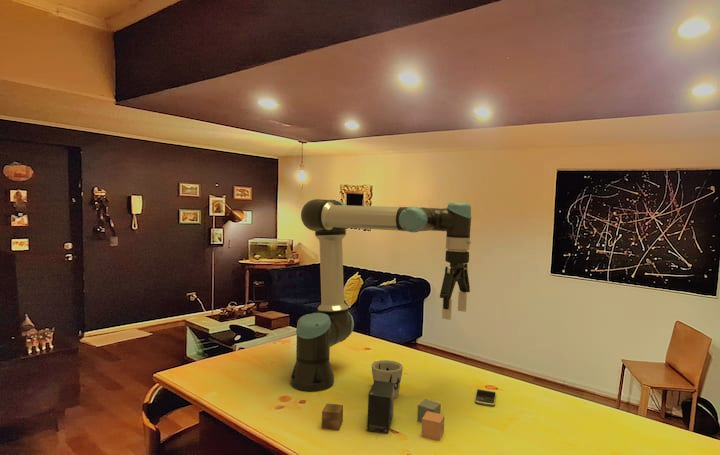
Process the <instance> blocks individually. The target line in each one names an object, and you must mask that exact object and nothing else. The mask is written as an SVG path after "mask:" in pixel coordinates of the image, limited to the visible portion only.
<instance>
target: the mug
mask: <svg viewBox="0 0 720 455" xmlns="http://www.w3.org/2000/svg"><path fill="white" fill-rule="evenodd" d="M403 366H404V365H403V364H402V363H400V362H398V361H395V360H389V359H387V360H386V359H382V360H377V361H374V362H372V364H371V374H372V381H373V383H374V381H375V380H376V381H383V382H391V383H394V399H396V398H397V397H398V396H399V392H400V387H401V386H400V385H401V380H402V374H403V369H404V367H403Z"/></svg>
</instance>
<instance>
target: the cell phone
mask: <svg viewBox="0 0 720 455" xmlns="http://www.w3.org/2000/svg"><path fill="white" fill-rule="evenodd" d="M475 393H476V394H475V397H474V404H476V405H481V406H485V407H490V408H491V407H493V408H494V406H496V405H495V404H496V396H497V392H496V391H491V390H485V389H479V388H477V390H476V392H475Z"/></svg>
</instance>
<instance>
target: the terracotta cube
mask: <svg viewBox="0 0 720 455" xmlns="http://www.w3.org/2000/svg"><path fill="white" fill-rule="evenodd" d="M444 433H445V414H442V413H440V414H438V413H434V412H429V411H427V412H426V413H425V415H424V416H423V418H422V423H421V437H423V438H426V439H430V440H434V441H438V442H440V441H441V439H442V437H443V435H444Z"/></svg>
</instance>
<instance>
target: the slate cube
mask: <svg viewBox="0 0 720 455" xmlns="http://www.w3.org/2000/svg"><path fill="white" fill-rule="evenodd" d="M441 405H442V404H441V402H437V401H434V400H432V399H431V400H430V399H426V398H425V399H423V400H422V401H421V402H420V403H418V404H417V415H416V416H417V417H416V418H417V423H420V424H422V418H423V416H424V415H425V413H426V412H427V411H429V412H434V413H438V414H441V409H442V406H441Z"/></svg>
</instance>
